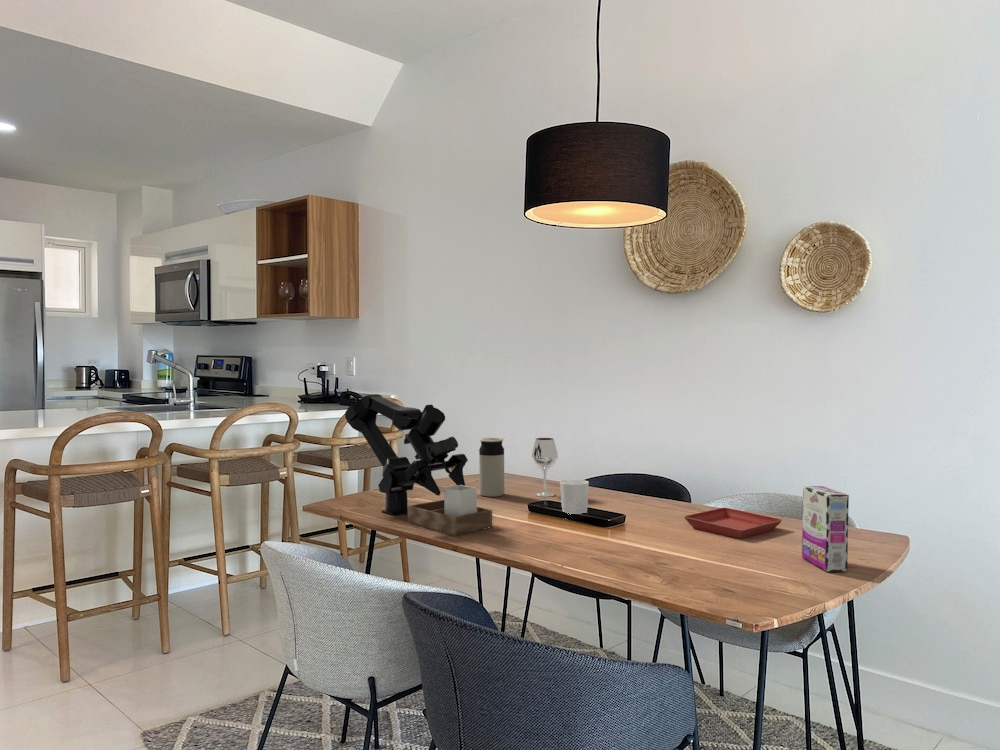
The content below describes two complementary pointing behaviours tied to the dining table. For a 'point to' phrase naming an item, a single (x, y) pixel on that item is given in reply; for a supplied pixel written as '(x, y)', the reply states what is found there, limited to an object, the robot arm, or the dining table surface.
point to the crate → (448, 518)
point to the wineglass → (544, 459)
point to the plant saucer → (732, 522)
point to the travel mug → (491, 467)
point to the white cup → (574, 496)
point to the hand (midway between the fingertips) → (452, 492)
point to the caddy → (460, 500)
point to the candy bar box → (825, 528)
